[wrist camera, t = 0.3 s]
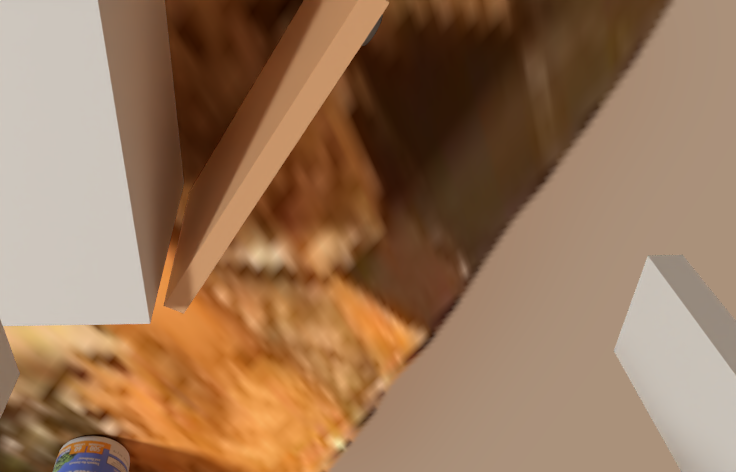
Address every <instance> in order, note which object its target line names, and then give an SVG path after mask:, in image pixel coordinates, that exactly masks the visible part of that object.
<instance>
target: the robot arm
mask: <svg viewBox="0 0 736 472" xmlns="http://www.w3.org/2000/svg"><path fill="white" fill-rule="evenodd" d="M614 352H615V354H616V355H617V357H618V359H619V361H620V363H621V365H622V366H623V368H624V370H625V372H626V374H627V375H628V377H629V379H630V381H631V383H632V384H633V386H634V388H635V390H636V392H637V393H638V395H639V397H640V398H641V401H642V402H643V404H644V406H645V408H646V410H647V411H648V413H649V415H650V417H651V418H652V420H653V422H654V424H655V425H656V427H657V429H658V431H659V433H660V435H661V436H662V438H663V440H664V442H665V444H666V445H667V447H668V449H669V451H670V453H671V454H672V456H673V458H674V460H675V461H676V463H677V465H678V467H679V469H680V470H681V472H736V320H735V319H734V318H733V317H732V315H731V314H730V313H729V312H728V311H727V309H726V308H725V307H724V306H723V304H722V303H721V302H720V301H719V299H718V298H717V297H716V296H715V294H714V293H713V292H712V291H711V289H710V288H709V287H708V286H707V285H706V283H705V282H704V281H703V280H702V278H701V277H700V276H699V275H698V273H697V272H696V271H695V270H694V268H693V267H692V266H691V265H690V264H689V262H688V261H687V260H686V259H685V257H684V256H683V255H657V256H656V255H655V256H653V255H652V256H648V257H647V260H646V262H645V265H644V268H643V271H642V274H641V277H640V279H639V282H638V285H637V288H636V291H635V293H634V296H633V299H632V301H631V304H630V307H629V310H628V313H627V315H626V318H625V321H624V324H623V327H622V329H621V333H620V335H619V338H618V341H617V344H616V346H615V349H614ZM19 375H20V373H19V370H18V367H17V364H16V362H15V359H14V356H13V353H12V350H11V348H10V345H9V342H8V339H7V337H6V334H5V331H4V328H3V325H2V323H1V320H0V418H1V416H2V413H3V411H4V409H5V406H6V404H7V402H8V400H9V397H10V395H11V393H12V390H13V388H14V386H15V384H16V381H17V379H18V377H19Z"/></svg>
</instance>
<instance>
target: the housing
mask: <svg viewBox="0 0 736 472" xmlns="http://www.w3.org/2000/svg"><path fill="white" fill-rule="evenodd" d="M183 186H184V177H183V168H182V158H181V149H180V139H179V130H178V120H177V111H176V101H175V92H174V82H173V73H172V63H171V54H170V44H169V35H168V25H167V16H166V6H165V0H0V320H1V323H2V325H3V326H36V325H97V324H150V322H151V318H152V314H153V310H154V306H155V302H156V297H157V293H158V289H159V285H160V281H161V277H162V273H163V269H164V264H165V260H166V256H167V252H168V248H169V244H170V240H171V235H172V231H173V227H174V223H175V219H176V215H177V211H178V207H179V202H180V198H181V194H182V190H183Z"/></svg>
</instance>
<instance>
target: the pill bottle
mask: <svg viewBox="0 0 736 472" xmlns="http://www.w3.org/2000/svg"><path fill="white" fill-rule="evenodd" d="M129 467H130V456H129V453H128V451H127V450H126V449H125V447H123V446H122V445H121V444H120V443H118V442H116V441H115V440H112V439H109V438H106V437H100V436H84V437H79V438H75V439H73V440H71V441H69V442H67V443H66V444H65V445H64V446H63V447H62V448H61V450H60V452H59V454H58V457H57V460H56V463H55V466H54V469H53V472H129Z"/></svg>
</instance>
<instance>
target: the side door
mask: <svg viewBox="0 0 736 472" xmlns="http://www.w3.org/2000/svg"><path fill="white" fill-rule="evenodd" d="M388 5H389V0H304V1H303V2H302V4H301V6H300V7H299V9H298V11H297V12H296V14H295V16H294V17H293V19H292V21H291V22H290V24H289V26H288V27H287V29H286V31H285V32H284V34H283V36H282V37H281V39H280V41H279V43H278V44H277V46H276V48H275V49H274V51H273V53H272V54H271V56H270V58H269V59H268V61H267V63H266V64H265V66H264V68H263V69H262V71H261V73H260V74H259V76H258V78H257V79H256V81H255V83H254V84H253V86H252V88H251V89H250V91H249V93H248V95H247V96H246V98H245V100H244V101H243V103H242V105H241V106H240V108H239V110H238V111H237V113H236V115H235V116H234V118H233V120H232V121H231V123H230V125H229V126H228V128H227V130H226V131H225V133H224V135H223V136H222V138H221V140H220V142H219V143H218V145H217V147H216V148H215V150H214V152H213V153H212V155H211V157H210V158H209V160H208V162H207V163H206V165H205V167H204V168H203V170H202V172H201V173H200V175H199V177H198V178H197V180H196V182H195V183H194V185H193V187H192V188H191V190H190V192H189V196H188V200H187V204H186V209H185V213H184V218H183V222H182V227H181V231H180V236H179V240H178V244H177V249H176V253H175V258H174V262H173V267H172V271H171V275H170V280H169V284H168V289H167V293H166V298H165V302H164V306H166V307H168V308H171V309H174V310H176V311H179V312H181V313H184V312H185V311H186V309H187V308H188V306H189V305H190V303H191V302H192V300H193V299H194V297H195V296H196V294H197V293H198V291H199V290H200V288H201V287H202V285H203V284H204V282H205V281H206V279H207V278H208V276H209V275H210V273H211V272H212V270H213V269H214V267H215V266H216V264H217V263H218V261H219V260H220V258H221V257H222V255H223V254H224V252H225V251H226V249H227V248H228V246H229V245H230V243H231V241H232V240H233V238H234V237H235V235H236V234H237V232H238V231H239V229H240V228H241V226H242V225H243V223H244V222H245V220H246V219H247V217H248V216H249V214H250V213H251V211H252V210H253V208H254V207H255V205H256V204H257V202H258V201H259V199H260V198H261V196H262V195H263V193H264V192H265V190H266V189H267V187H268V186H269V184H270V183H271V181H272V180H273V178H274V177H275V175H276V174H277V172H278V171H279V169H280V168H281V166H282V165H283V163H284V162H285V160H286V159H287V157H288V156H289V154H290V152H291V151H292V149H293V148H294V146H295V145H296V143H297V142H298V140H299V139H300V137H301V136H302V134H303V133H304V131H305V130H306V128H307V127H308V125H309V124H310V122H311V121H312V119H313V118H314V116H315V115H316V113H317V112H318V110H319V109H320V107H321V106H322V104H323V103H324V101H325V100H326V98H327V97H328V95H329V94H330V92H331V91H332V89H333V88H334V86H335V85H336V83H337V82H338V80H339V79H340V77H341V76H342V74H343V73H344V71H345V70H346V68H347V67H348V65H349V64H350V62H351V60H352V59H353V57H354V56H355V54H356V53H357V51H358V50H359V48H360V47H361V45H362V46H365V45H366V44H368V43H369V41H370V40H371V39H372V38H373V36H374V35H375V33H376V31H377V30H378V28H379V26H380V23H381V21H382V16H383V12H384V11H385V9H386V8H387V6H388Z"/></svg>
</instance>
